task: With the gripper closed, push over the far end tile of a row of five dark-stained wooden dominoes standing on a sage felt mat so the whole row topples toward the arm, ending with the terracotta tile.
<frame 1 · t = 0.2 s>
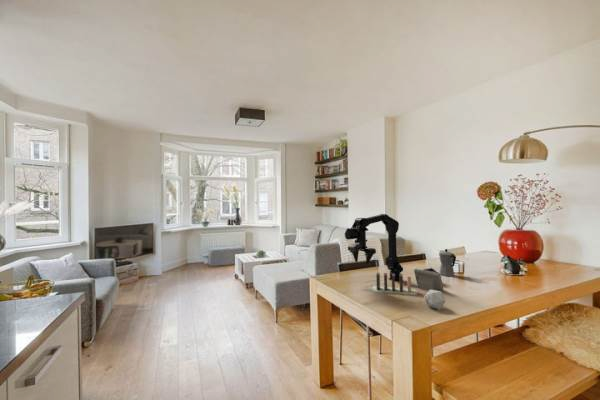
hand: (361, 263, 169), 14 cm above the table, fingers open, 9 cm apart
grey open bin: (428, 282, 175), on the table
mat: (393, 290, 159), on the table
domino 3: (393, 290, 159), resting on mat
domino 5: (409, 291, 156), resting on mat
domino 4: (401, 290, 158), resting on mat
domino 2: (385, 289, 161), resting on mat
grey rock: (434, 307, 134), on the table
domino 1: (378, 288, 162), resting on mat
coffeepot: (447, 275, 189), on the table
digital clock: (428, 288, 162), on the table
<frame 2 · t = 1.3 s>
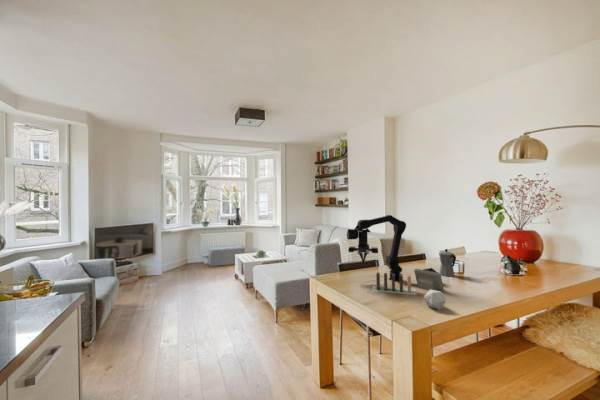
hand: (363, 262, 178), 12 cm above the table, fingers closed
nothing on the table moved.
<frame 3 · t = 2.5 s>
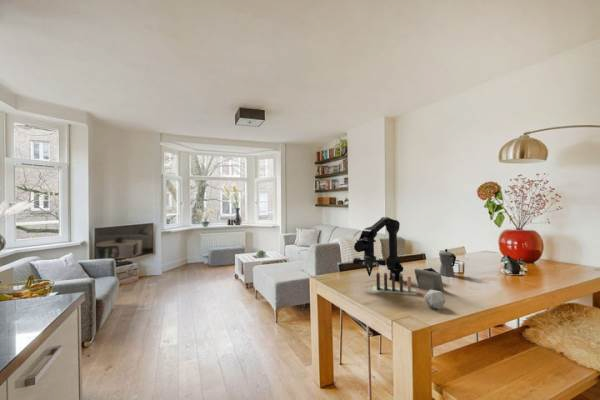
hand: (369, 275, 164), 8 cm above the table, fingers closed
nothing on the table moved.
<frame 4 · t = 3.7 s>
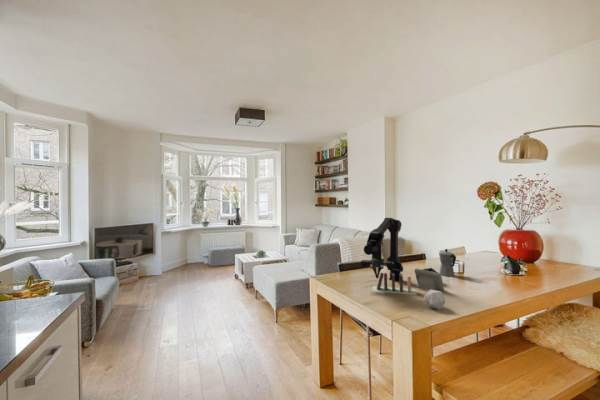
hand: (377, 278, 162), 6 cm above the table, fingers closed
domino 1: (378, 288, 162), point 1 cm above the table, tilted 15°, touching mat
everything else where it was.
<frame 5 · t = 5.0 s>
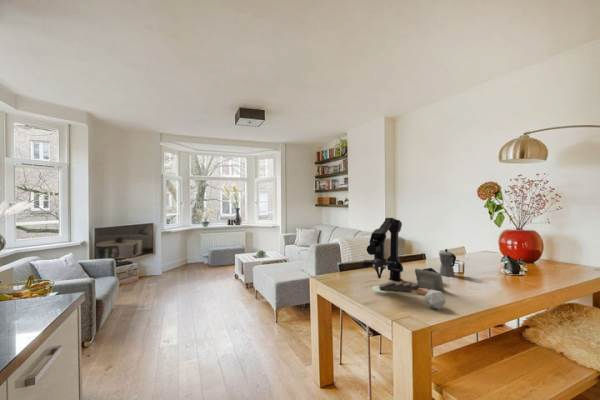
hand: (379, 278, 162), 7 cm above the table, fingers closed
domino 3: (395, 288, 159), point 1 cm above the table, tilted 68°, touching domino 2, domino 4, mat
domino 5: (411, 290, 156), point 1 cm above the table, tilted 91°, touching domino 4, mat
domino 4: (403, 289, 158), point 1 cm above the table, tilted 69°, touching domino 3, domino 5, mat
domino 2: (387, 288, 160), point 1 cm above the table, tilted 68°, touching domino 1, domino 3
domino 1: (379, 287, 162), point 1 cm above the table, tilted 68°, touching domino 2, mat
everything else where it was.
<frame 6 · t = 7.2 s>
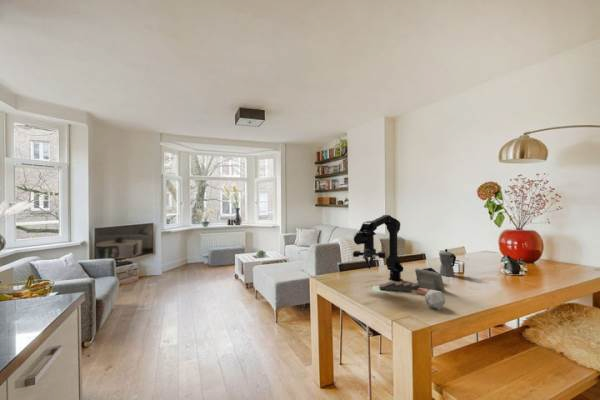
hand: (369, 268, 164), 12 cm above the table, fingers closed
nothing on the table moved.
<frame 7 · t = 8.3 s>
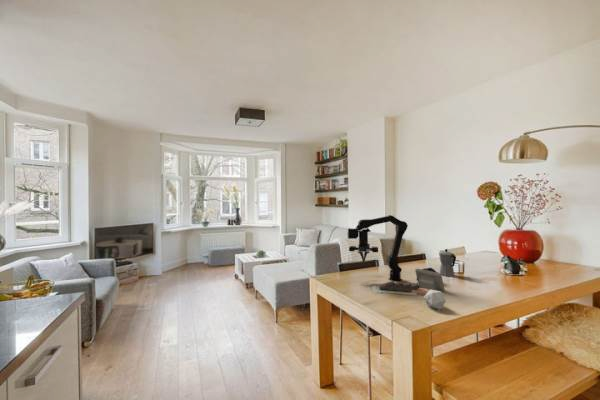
hand: (363, 261, 181), 12 cm above the table, fingers closed
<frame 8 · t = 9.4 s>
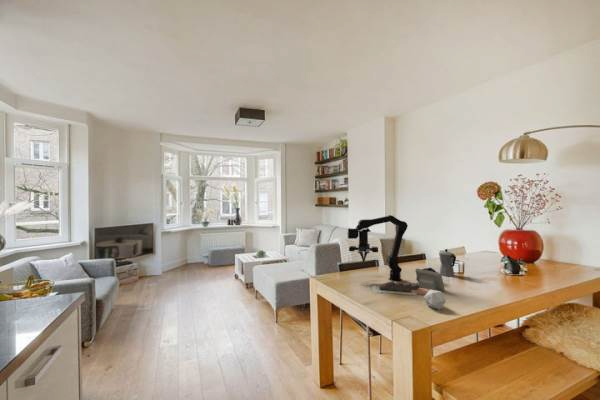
hand: (363, 261, 181), 12 cm above the table, fingers closed
at the end: domino 5 tilted 91°; domino 3 tilted 68° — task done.
